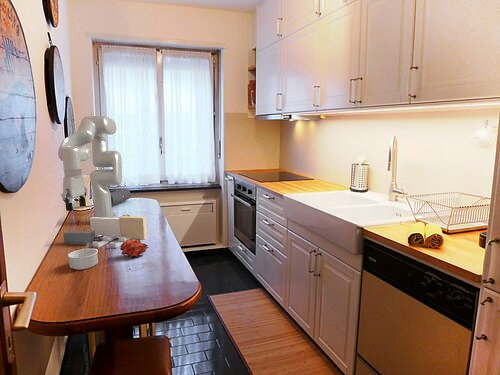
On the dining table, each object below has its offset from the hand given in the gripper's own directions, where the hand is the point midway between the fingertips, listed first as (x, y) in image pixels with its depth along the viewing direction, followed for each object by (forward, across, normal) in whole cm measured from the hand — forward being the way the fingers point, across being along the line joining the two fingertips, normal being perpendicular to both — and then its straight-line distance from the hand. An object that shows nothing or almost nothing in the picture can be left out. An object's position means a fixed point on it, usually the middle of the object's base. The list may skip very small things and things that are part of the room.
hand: (76, 208), depth 179 cm
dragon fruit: (+18, +12, +36) cm, 42 cm away
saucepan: (+18, +22, +19) cm, 34 cm away
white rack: (+18, -5, +14) cm, 23 cm away
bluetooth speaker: (+16, -88, -32) cm, 95 cm away
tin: (+18, -23, +10) cm, 31 cm away
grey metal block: (+18, -1, 0) cm, 18 cm away
